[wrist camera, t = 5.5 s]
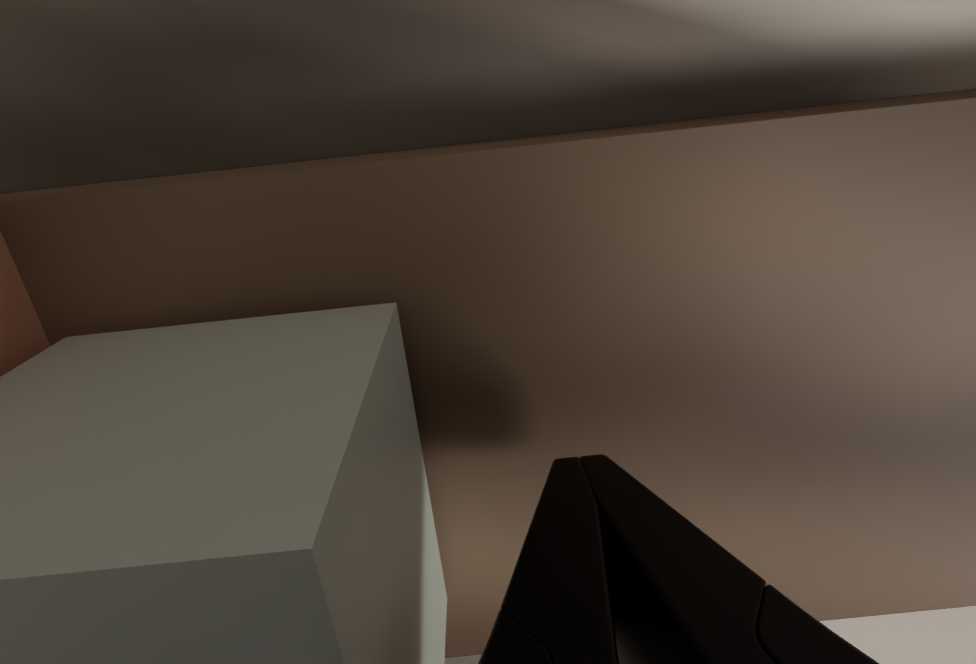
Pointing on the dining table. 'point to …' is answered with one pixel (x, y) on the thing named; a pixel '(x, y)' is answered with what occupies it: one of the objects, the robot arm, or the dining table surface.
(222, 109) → the dining table surface
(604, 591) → the robot arm
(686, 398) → the brown boxy piece
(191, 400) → the pale sage green cube
